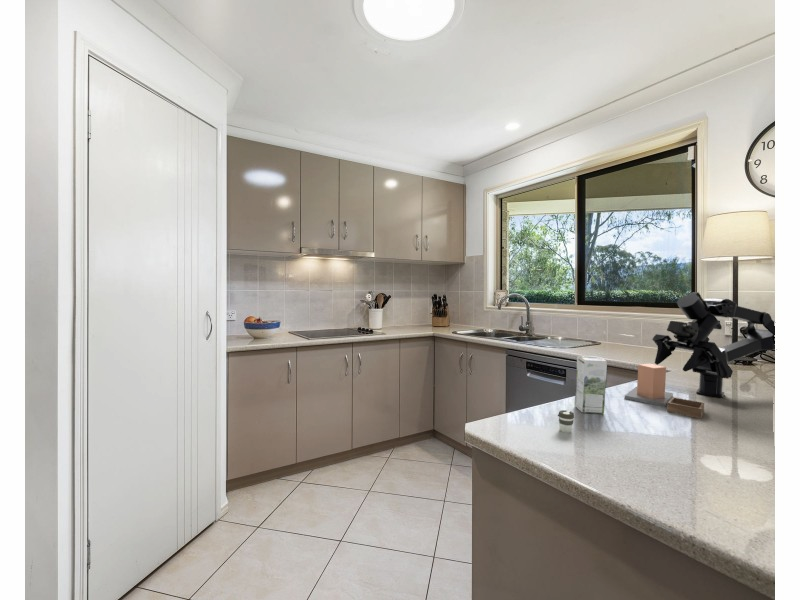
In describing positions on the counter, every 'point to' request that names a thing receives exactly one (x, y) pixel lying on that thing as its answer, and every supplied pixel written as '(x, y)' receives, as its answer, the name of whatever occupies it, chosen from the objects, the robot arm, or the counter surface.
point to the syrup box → (590, 384)
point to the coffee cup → (565, 420)
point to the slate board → (655, 401)
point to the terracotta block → (651, 380)
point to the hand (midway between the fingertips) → (669, 366)
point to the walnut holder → (686, 407)
